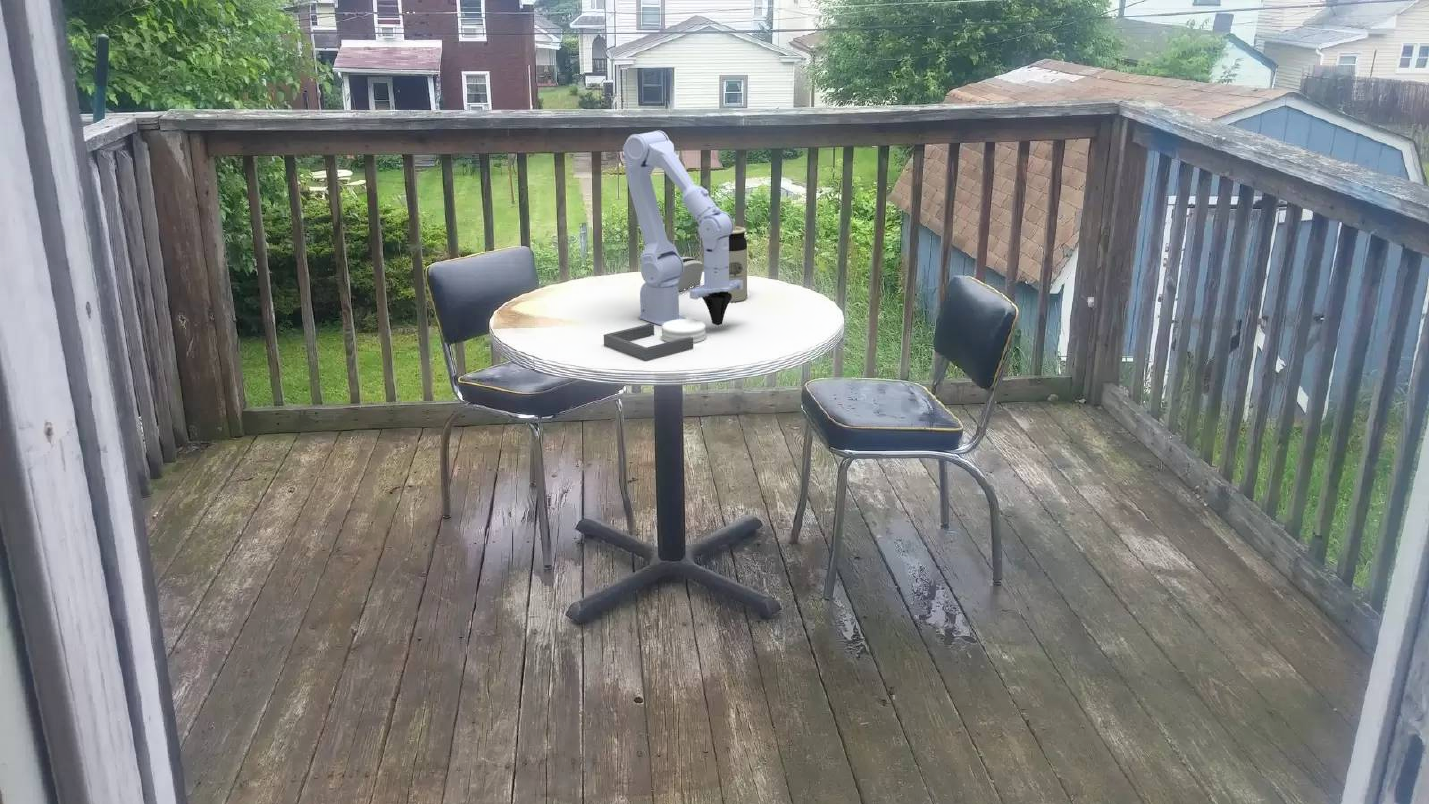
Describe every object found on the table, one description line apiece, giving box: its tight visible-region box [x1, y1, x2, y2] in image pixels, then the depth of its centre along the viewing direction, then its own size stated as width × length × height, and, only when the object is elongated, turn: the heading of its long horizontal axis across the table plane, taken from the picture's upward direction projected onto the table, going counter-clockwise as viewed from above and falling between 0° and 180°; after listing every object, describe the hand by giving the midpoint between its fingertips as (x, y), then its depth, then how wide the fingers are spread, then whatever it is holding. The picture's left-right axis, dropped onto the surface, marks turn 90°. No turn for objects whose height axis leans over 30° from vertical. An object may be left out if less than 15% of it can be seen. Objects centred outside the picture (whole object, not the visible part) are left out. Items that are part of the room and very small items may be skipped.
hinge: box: [678, 256, 704, 292], centre depth 294 cm, size 17×5×10 cm, turn 144°
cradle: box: [603, 323, 694, 362], centre depth 248 cm, size 15×13×2 cm
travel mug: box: [728, 225, 748, 303], centre depth 284 cm, size 8×8×18 cm
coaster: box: [661, 318, 707, 344], centre depth 254 cm, size 10×10×4 cm
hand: (717, 323), depth 260 cm, fingers closed
